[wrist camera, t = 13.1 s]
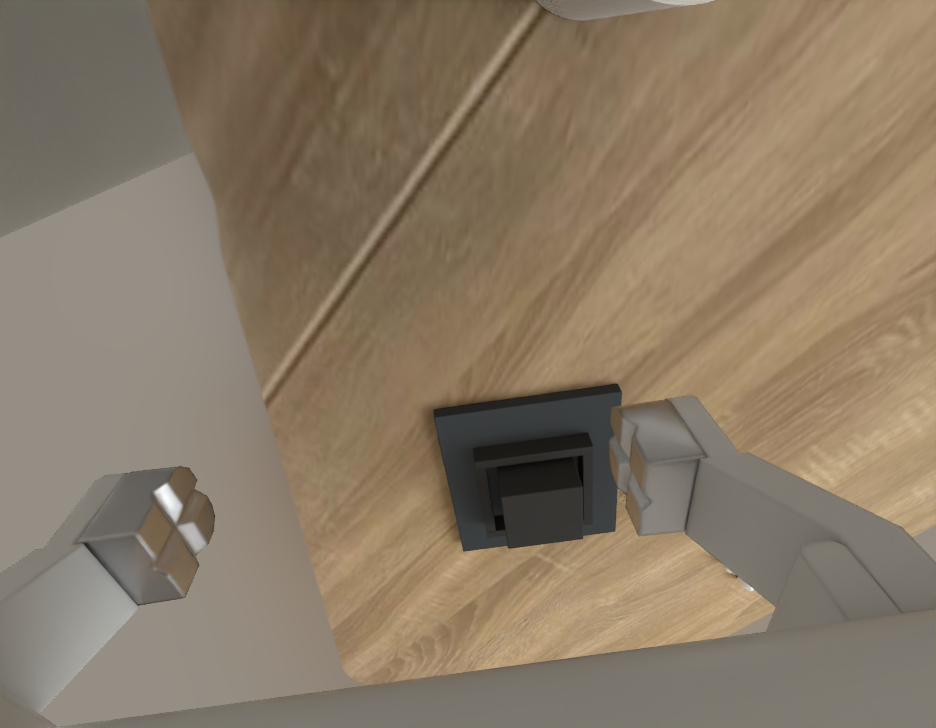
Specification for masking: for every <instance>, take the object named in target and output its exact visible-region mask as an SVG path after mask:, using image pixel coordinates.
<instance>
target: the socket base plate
mask: <svg viewBox="0 0 936 728" xmlns="http://www.w3.org/2000/svg"><path fill="white" fill-rule="evenodd" d="M621 396H622V391H621V389H620V388H619V386H618V384H615V385H608V386H601V387H593V388H586V389H579V390H572V391H565V392H558V393H551V394H543V395H536V396H529V397H522V398H515V399H508V400H501V401H493V402H486V403H479V404H472V405H465V406H458V407H450V408H443V409H436V410H434V420H435V425H436V430H437V434H438V439H439V443H440V448H441V452H442V457H443V461H444V466H445V470H446V475H447V479H448V484H449V488H450V493H451V497H452V502H453V506H454V511H455V515H456V520H457V524H458V529H459V534H460V538H461V543H462V547H463V551H471V550H479V549H486V548H494V547H501V546H508V545H507V538H506V531H505V524H504V517H503V510H502V503H501V496H500V489H499V482H498V475H497V468H496V467H500V466H507V465H515V464H522V463H529V462H537V461H544V460H551V459H559V458H566V457H573V459H574V462H575V465H576V468H577V471H578V474H579V477H580V480H581V483H582V486H583V536H585V535H592V534H600V533H608V532H615V527H616V505H617V486H616V483H615V481H614V478H613V475H612V472H611V468H610V462H609V454H608V452H609V440H610V439H611V438H612V437H613V435H614V432H613V430H612V427H611V425H610V413H611V410H612V407H617V406H621Z"/></svg>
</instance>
